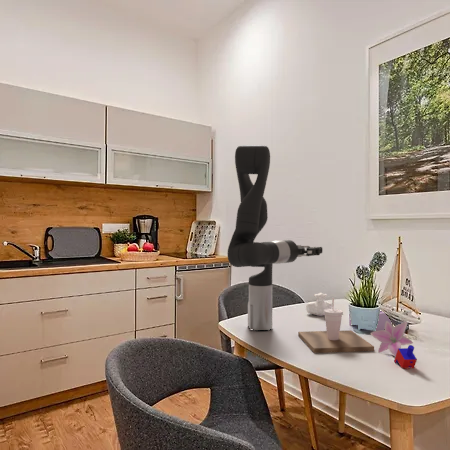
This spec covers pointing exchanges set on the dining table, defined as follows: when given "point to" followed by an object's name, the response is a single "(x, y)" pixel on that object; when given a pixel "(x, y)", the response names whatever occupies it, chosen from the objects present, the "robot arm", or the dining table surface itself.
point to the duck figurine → (318, 305)
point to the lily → (391, 337)
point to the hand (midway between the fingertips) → (311, 249)
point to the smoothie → (333, 322)
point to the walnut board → (335, 342)
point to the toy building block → (406, 357)
